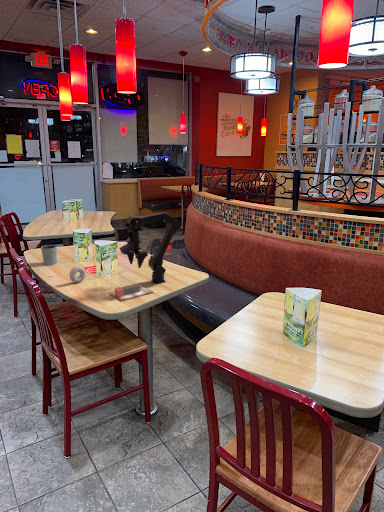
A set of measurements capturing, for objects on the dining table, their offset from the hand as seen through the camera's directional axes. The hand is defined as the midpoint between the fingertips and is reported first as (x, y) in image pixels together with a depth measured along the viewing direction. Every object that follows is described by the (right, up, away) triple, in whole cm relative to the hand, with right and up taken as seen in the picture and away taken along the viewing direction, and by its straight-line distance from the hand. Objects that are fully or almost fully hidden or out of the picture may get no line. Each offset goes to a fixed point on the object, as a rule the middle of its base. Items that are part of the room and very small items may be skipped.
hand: (135, 265), depth 216 cm
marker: (-2, -15, -10) cm, 18 cm away
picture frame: (-1, -15, -8) cm, 17 cm away
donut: (-35, -10, +9) cm, 37 cm away
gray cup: (-65, 0, +45) cm, 79 cm away
